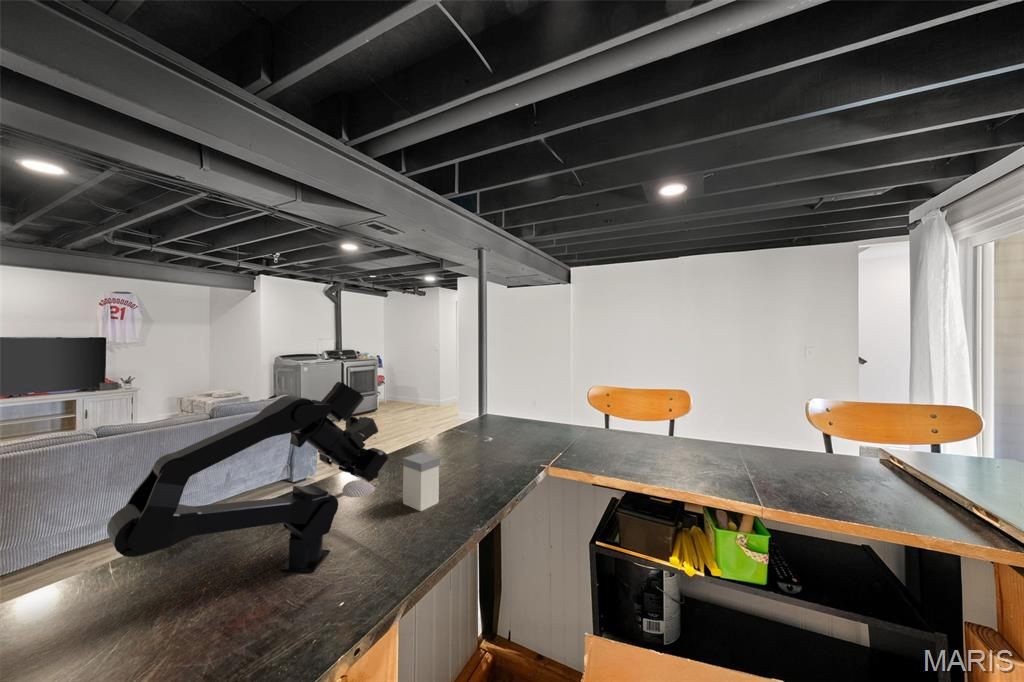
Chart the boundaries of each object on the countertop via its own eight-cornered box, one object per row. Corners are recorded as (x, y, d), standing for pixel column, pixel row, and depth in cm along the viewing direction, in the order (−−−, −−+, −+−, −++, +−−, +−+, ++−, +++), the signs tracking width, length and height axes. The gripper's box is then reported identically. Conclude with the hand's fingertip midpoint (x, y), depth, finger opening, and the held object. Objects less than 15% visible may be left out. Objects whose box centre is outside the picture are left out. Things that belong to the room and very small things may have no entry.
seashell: (352, 476, 110) (382, 472, 108) (355, 495, 109) (385, 490, 107) (329, 489, 100) (361, 485, 98) (332, 510, 99) (365, 505, 97)
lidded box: (420, 511, 92) (421, 464, 91) (402, 503, 96) (403, 458, 96) (439, 502, 97) (439, 457, 96) (420, 495, 101) (421, 452, 101)
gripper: (380, 413, 75) (421, 453, 84) (332, 402, 86) (374, 439, 95) (343, 461, 69) (392, 499, 78) (297, 443, 80) (344, 478, 89)
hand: (375, 475), depth 85 cm, fingers closed
